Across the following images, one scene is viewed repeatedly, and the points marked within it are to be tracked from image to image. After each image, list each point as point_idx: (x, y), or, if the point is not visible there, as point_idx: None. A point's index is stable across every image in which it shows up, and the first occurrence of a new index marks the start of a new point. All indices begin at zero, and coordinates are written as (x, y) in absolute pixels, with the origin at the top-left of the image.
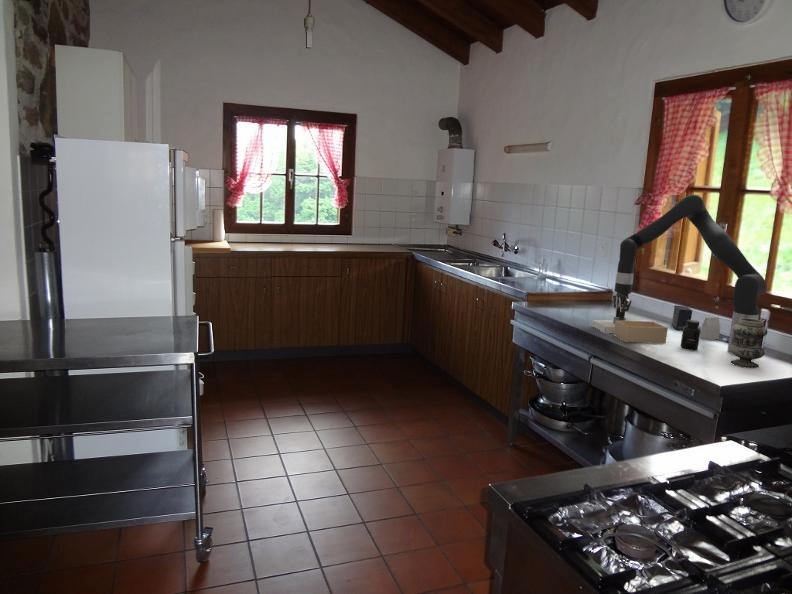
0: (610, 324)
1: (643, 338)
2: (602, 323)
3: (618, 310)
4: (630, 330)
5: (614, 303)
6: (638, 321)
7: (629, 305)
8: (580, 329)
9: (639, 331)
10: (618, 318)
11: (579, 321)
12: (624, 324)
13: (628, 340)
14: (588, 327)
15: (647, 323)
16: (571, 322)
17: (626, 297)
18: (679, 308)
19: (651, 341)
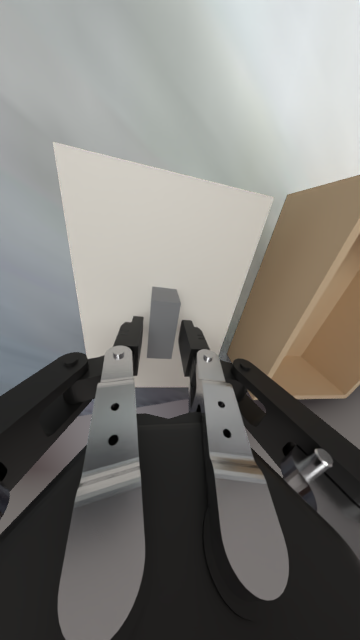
0: (173, 357)
1: (342, 320)
2: (155, 378)
3: (136, 366)
4: (337, 379)
5: (54, 429)
6: (314, 306)
7: (312, 419)
8: (145, 404)
9: (357, 351)
10: (173, 343)
11: (3, 372)
12: (317, 397)
13: (306, 357)
14: None
15: (341, 237)
16: None
17: (343, 598)
18: None
19: (353, 286)
